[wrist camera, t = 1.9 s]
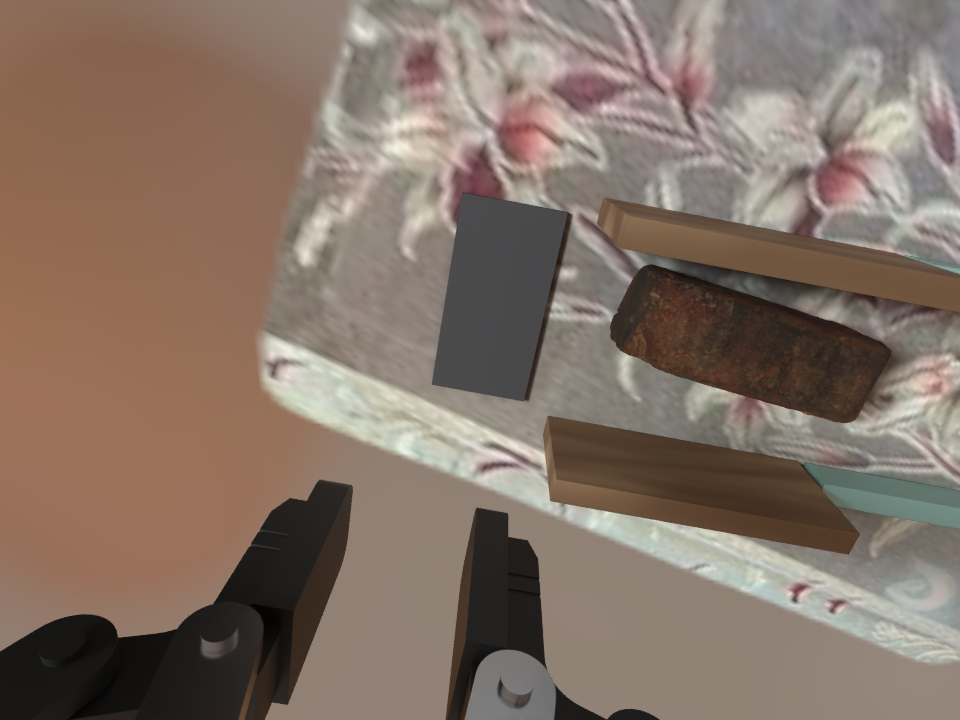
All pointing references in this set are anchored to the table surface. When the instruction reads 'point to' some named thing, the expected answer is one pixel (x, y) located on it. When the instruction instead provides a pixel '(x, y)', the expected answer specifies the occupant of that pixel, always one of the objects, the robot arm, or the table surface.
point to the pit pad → (496, 295)
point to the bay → (890, 485)
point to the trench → (709, 469)
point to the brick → (747, 345)
